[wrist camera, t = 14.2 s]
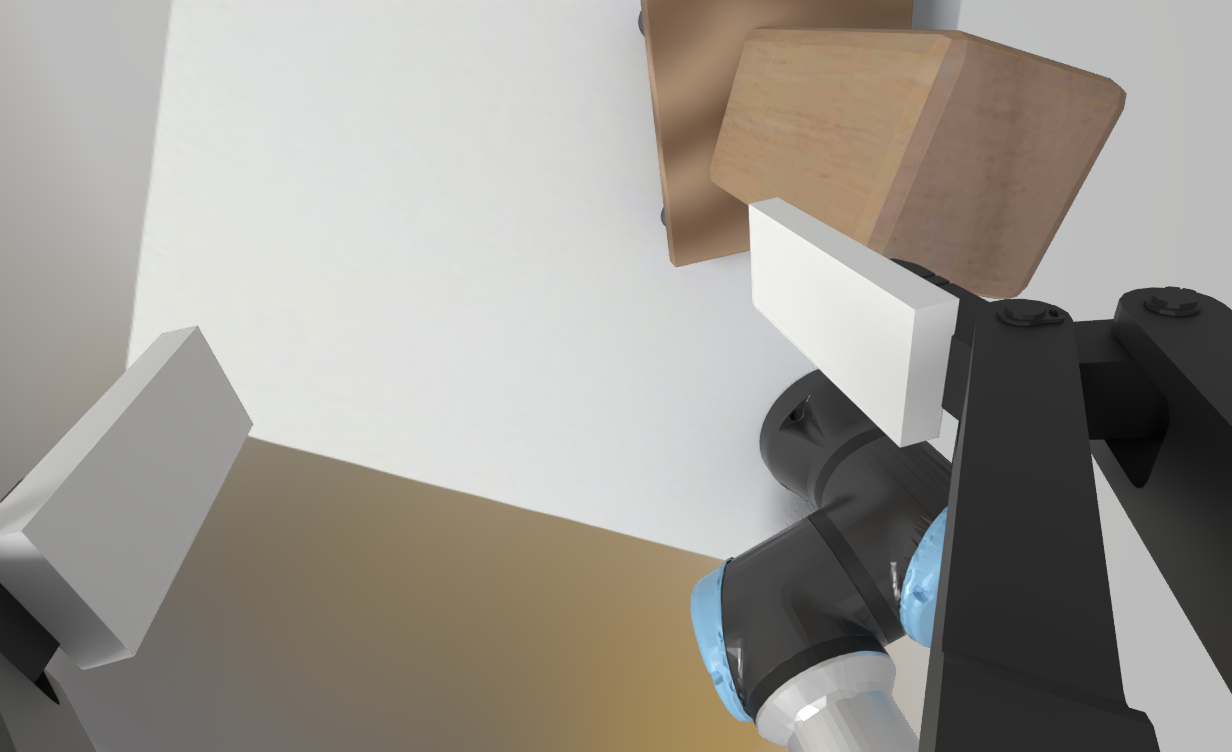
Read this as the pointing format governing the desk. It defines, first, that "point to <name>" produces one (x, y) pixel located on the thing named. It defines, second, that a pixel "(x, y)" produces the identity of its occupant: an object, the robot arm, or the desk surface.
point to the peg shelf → (719, 101)
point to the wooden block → (917, 143)
